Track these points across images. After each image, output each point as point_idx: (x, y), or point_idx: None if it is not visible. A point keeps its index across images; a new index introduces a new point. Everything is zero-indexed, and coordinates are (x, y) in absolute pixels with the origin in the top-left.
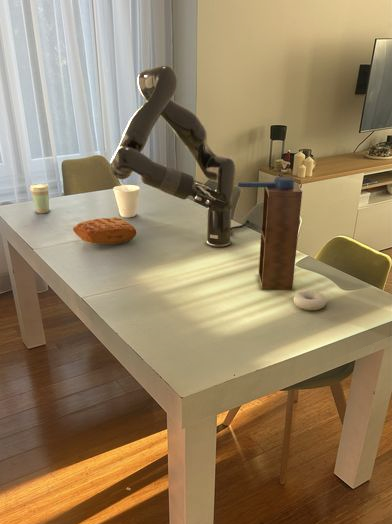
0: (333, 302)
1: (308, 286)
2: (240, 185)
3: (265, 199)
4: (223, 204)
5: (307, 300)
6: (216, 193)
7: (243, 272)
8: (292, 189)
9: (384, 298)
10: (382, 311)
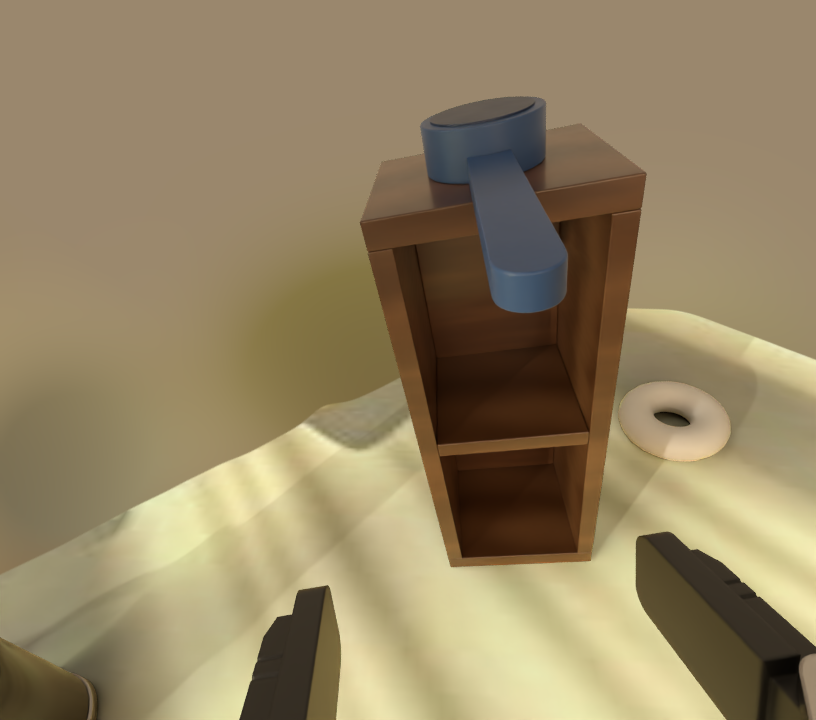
0: (621, 381)
1: None
2: (566, 275)
3: (408, 311)
4: (713, 560)
5: (720, 415)
6: (323, 640)
7: (416, 629)
8: (546, 141)
9: None
10: (635, 314)
